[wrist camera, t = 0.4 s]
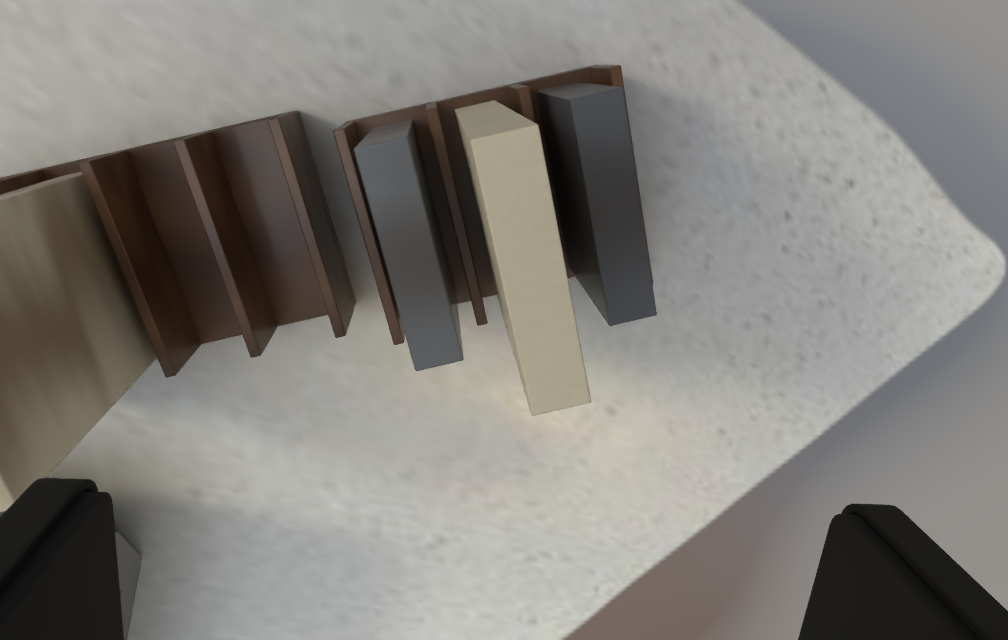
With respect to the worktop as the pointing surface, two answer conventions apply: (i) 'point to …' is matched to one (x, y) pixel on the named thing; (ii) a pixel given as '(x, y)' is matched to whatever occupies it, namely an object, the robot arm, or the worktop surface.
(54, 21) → the worktop surface
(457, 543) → the worktop surface
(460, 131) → the cream book
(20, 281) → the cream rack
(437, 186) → the brown slotted rack
